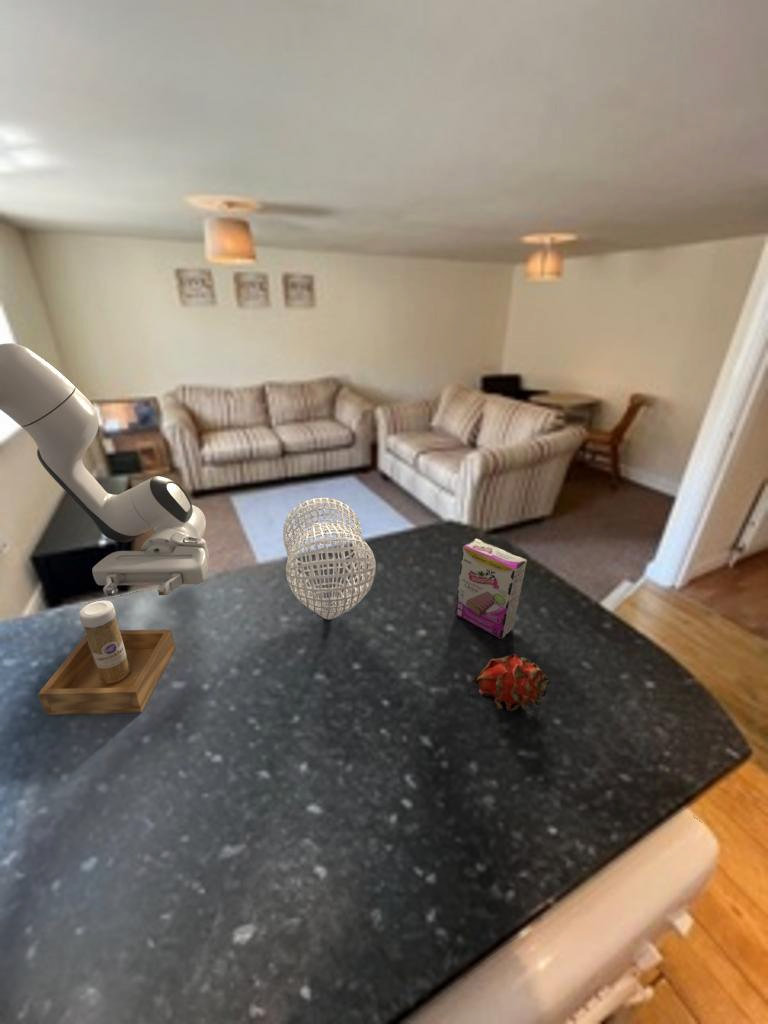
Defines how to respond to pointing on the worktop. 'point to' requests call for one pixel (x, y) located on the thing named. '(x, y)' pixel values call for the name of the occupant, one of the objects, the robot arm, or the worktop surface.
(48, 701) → the holder
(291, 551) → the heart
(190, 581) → the robot arm
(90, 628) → the sprinkles bottle
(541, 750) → the worktop surface
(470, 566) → the candy bar box
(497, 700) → the dragon fruit
